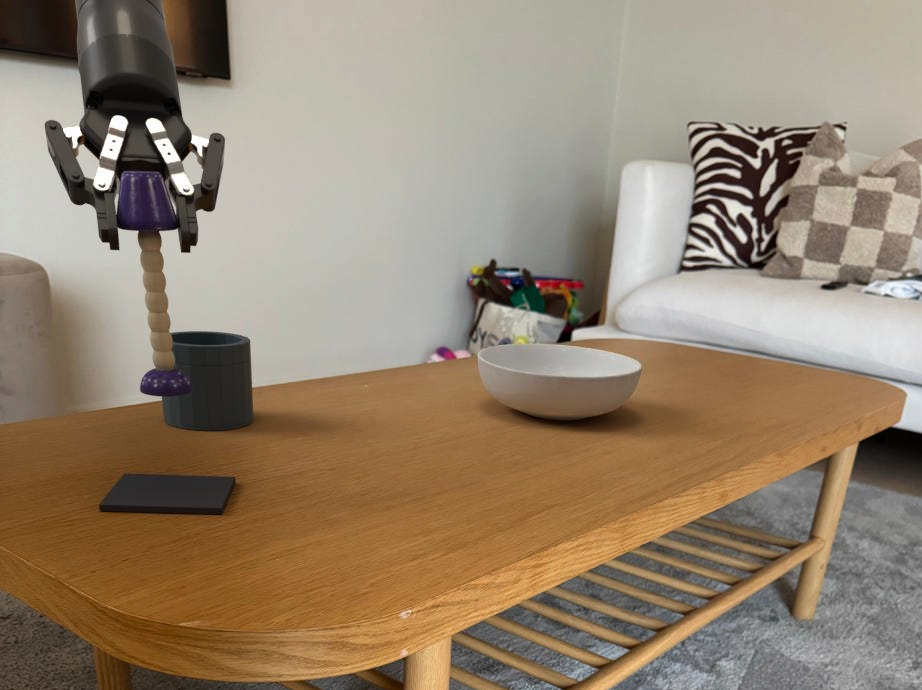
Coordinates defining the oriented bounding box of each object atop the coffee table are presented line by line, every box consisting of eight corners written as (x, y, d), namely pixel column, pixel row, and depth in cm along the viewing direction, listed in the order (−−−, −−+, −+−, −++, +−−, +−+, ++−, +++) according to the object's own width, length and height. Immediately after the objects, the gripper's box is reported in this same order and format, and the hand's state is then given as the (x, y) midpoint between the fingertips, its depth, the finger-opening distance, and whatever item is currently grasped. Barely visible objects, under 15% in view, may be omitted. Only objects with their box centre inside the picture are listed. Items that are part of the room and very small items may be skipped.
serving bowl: (441, 403, 124) (443, 348, 121) (555, 389, 137) (559, 339, 134) (554, 440, 111) (560, 380, 108) (668, 421, 123) (677, 366, 120)
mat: (99, 511, 80) (98, 504, 80) (124, 479, 88) (123, 473, 88) (221, 514, 81) (221, 508, 81) (235, 483, 89) (235, 476, 89)
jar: (156, 428, 104) (148, 343, 100) (173, 408, 113) (166, 329, 109) (247, 432, 106) (243, 348, 102) (257, 411, 114) (254, 333, 110)
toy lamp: (151, 400, 78) (131, 171, 70) (121, 389, 80) (99, 168, 73) (202, 393, 81) (188, 174, 73) (172, 382, 84) (156, 170, 76)
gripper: (26, 20, 73) (44, 204, 68) (220, 41, 77) (248, 213, 73) (38, 102, 79) (55, 274, 75) (216, 116, 84) (242, 279, 80)
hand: (150, 243), depth 74 cm, fingers closed on toy lamp, 4 cm apart
